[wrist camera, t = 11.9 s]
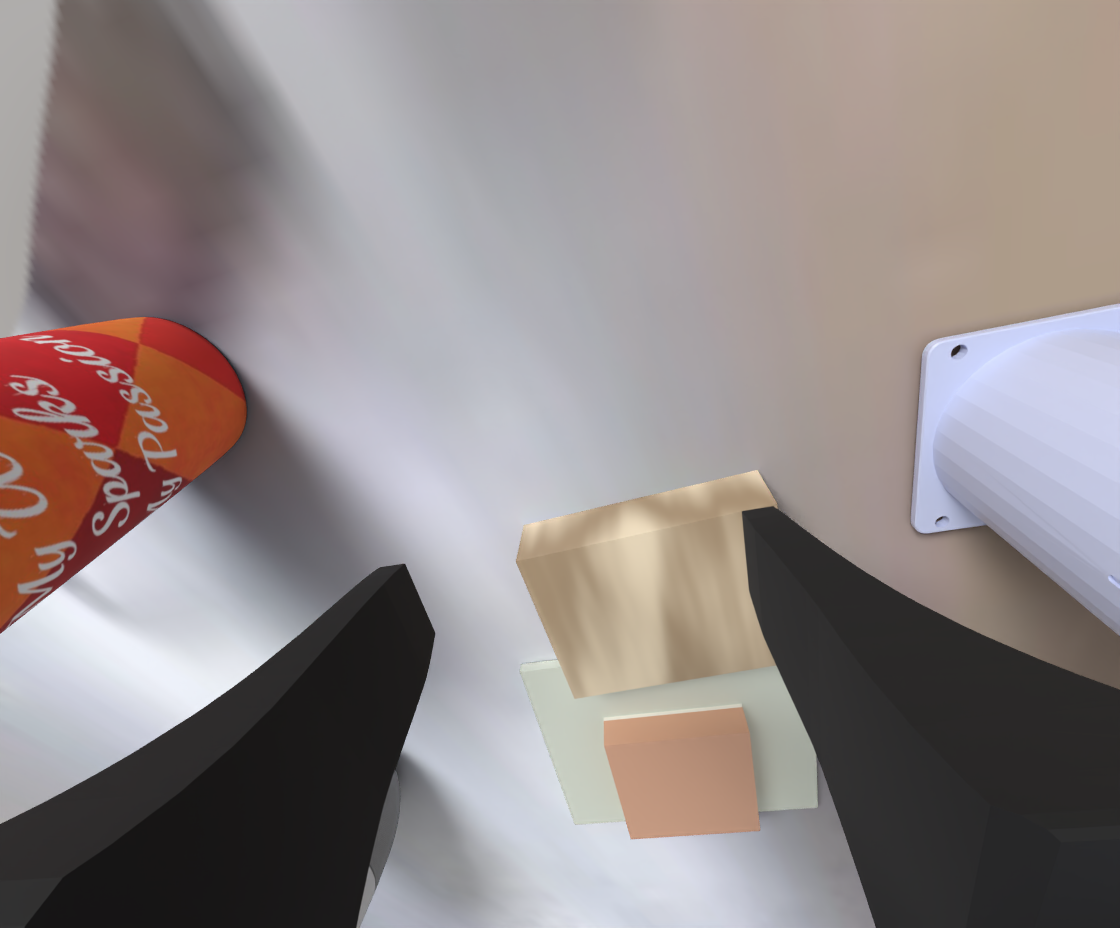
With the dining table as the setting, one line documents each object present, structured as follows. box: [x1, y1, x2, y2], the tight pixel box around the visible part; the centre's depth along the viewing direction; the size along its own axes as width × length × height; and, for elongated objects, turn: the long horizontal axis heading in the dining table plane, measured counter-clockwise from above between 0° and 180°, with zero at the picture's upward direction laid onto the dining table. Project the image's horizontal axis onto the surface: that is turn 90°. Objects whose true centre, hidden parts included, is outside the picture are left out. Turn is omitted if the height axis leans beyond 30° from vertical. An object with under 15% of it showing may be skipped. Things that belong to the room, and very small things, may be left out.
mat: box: [520, 660, 818, 825], centre depth 28 cm, size 14×13×1 cm
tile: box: [604, 704, 760, 839], centre depth 28 cm, size 7×2×8 cm
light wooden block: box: [516, 470, 778, 699], centre depth 23 cm, size 3×8×10 cm
